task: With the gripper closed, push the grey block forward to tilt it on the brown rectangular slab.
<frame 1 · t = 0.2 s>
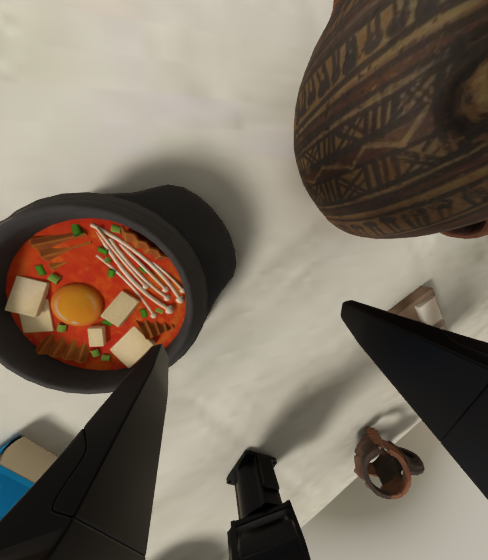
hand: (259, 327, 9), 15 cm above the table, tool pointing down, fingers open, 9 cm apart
brown rectangular slab: (405, 348, 33), on the table
casserole: (133, 282, 22), on the table
brown curved piece: (369, 442, 37), on the table
vase: (345, 156, 24), on the table
book: (0, 517, 26), on the table
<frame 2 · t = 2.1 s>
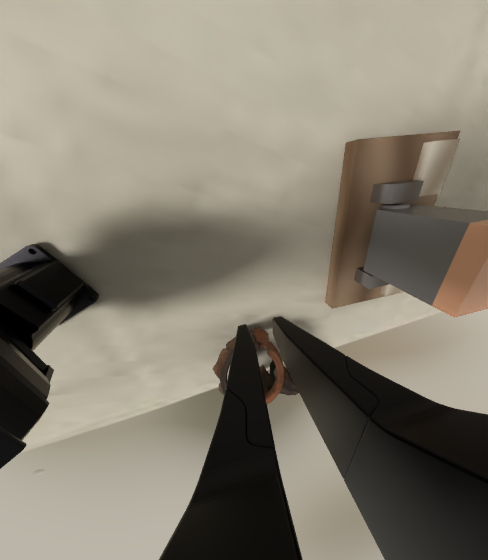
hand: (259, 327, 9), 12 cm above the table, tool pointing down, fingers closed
brown rectangular slab: (364, 232, 22), on the table
brown curved piece: (251, 351, 28), on the table
grey block: (423, 250, 17), point 7 cm above the table, hinge at 0.0°
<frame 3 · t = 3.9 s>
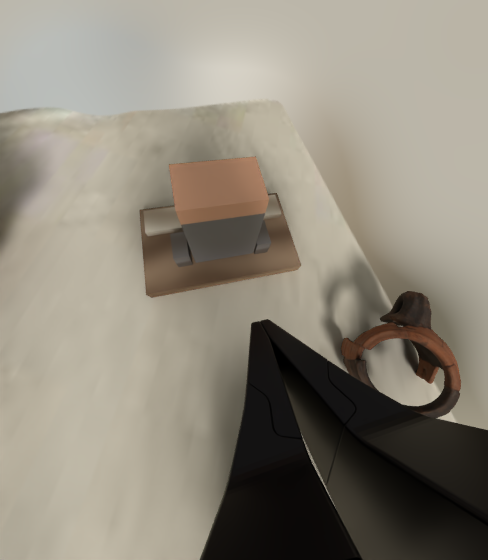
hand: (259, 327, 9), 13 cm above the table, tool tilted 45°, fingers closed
brown rectangular slab: (222, 253, 24), on the table
brown curved piece: (377, 348, 23), on the table
grey block: (220, 222, 18), point 7 cm above the table, hinge at 0.0°
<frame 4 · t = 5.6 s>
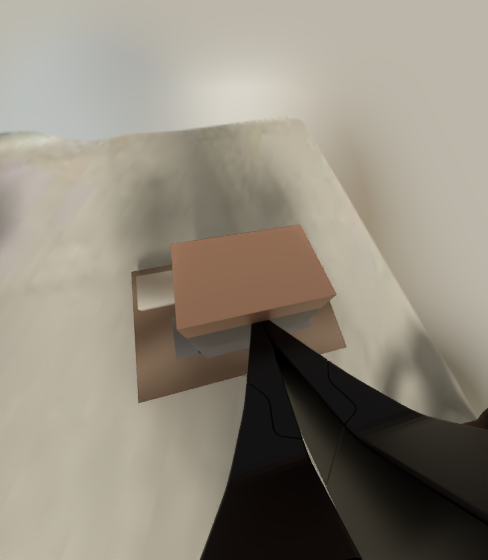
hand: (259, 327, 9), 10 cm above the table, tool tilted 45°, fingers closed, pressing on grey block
brown rectangular slab: (239, 326, 18), on the table
grey block: (244, 307, 12), point 7 cm above the table, hinge at 10.8°, touching gripper
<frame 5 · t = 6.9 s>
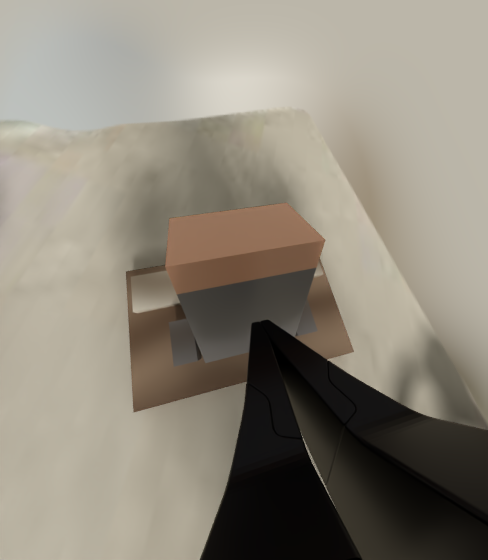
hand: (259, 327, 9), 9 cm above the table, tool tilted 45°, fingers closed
brown rectangular slab: (241, 329, 17), on the table
grey block: (242, 296, 12), point 6 cm above the table, hinge at 29.1°
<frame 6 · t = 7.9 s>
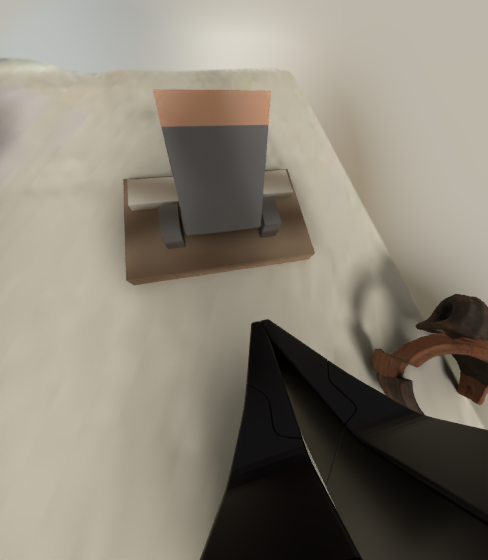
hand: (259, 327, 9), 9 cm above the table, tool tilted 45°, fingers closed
brown rectangular slab: (221, 236, 20), on the table
brown curved piece: (411, 360, 19), on the table
grey block: (218, 176, 15), point 6 cm above the table, hinge at 29.1°
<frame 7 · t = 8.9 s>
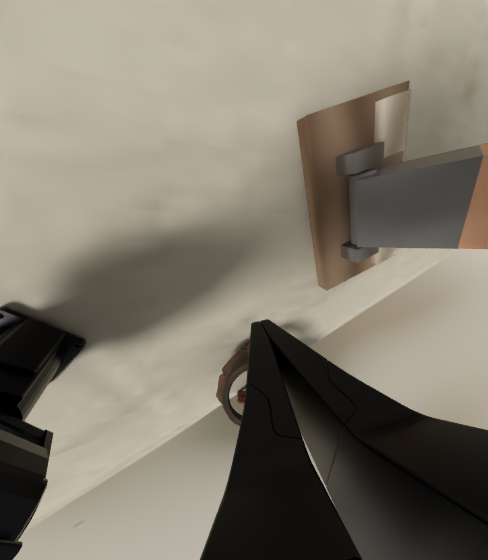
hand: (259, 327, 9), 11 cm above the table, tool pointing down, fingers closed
brown rectangular slab: (339, 207, 22), on the table
brown curved piece: (252, 364, 28), on the table
grey block: (410, 204, 17), point 6 cm above the table, hinge at 29.1°
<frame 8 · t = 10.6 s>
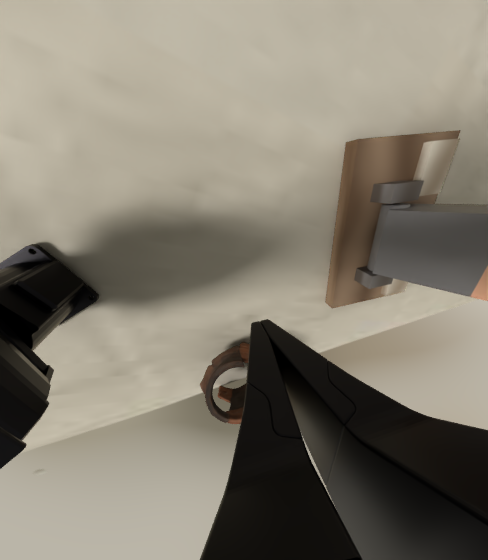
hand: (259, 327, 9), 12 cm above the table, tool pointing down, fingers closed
brown rectangular slab: (364, 232, 22), on the table
brown curved piece: (240, 364, 28), on the table
grey block: (434, 245, 17), point 6 cm above the table, hinge at 29.1°
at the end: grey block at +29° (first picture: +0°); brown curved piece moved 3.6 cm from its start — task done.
